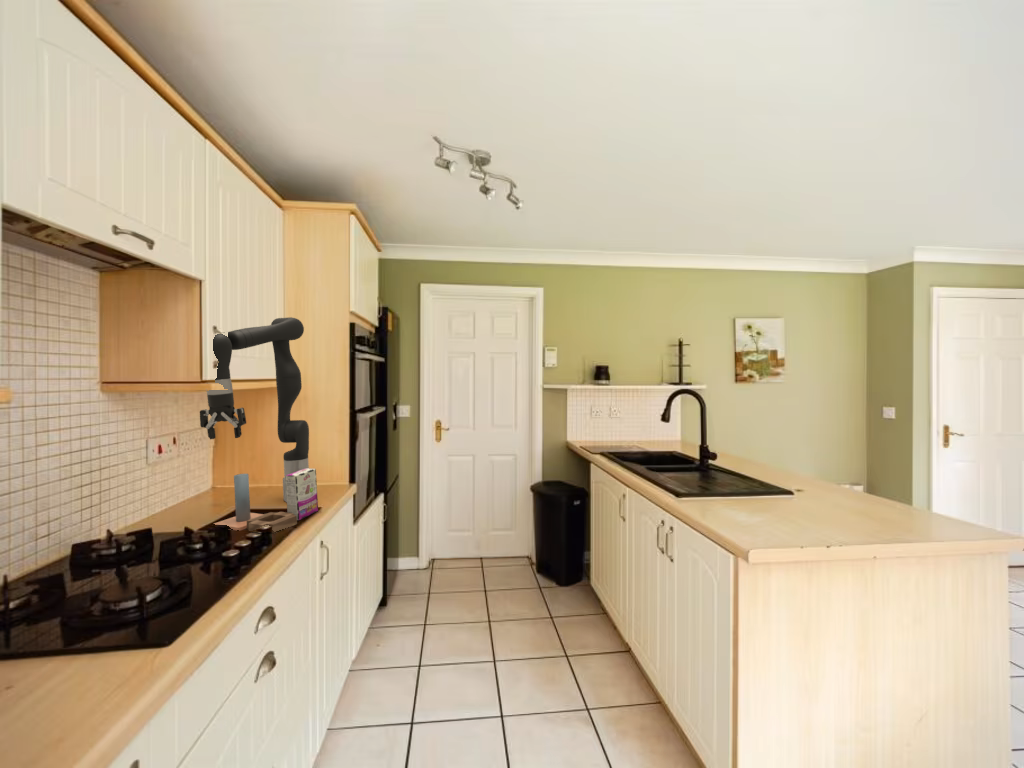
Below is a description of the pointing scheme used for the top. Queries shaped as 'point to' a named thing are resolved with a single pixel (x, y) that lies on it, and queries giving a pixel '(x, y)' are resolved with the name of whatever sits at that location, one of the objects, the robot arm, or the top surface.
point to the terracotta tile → (237, 525)
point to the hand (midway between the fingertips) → (225, 438)
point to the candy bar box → (302, 493)
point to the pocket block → (273, 521)
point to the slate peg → (242, 497)
